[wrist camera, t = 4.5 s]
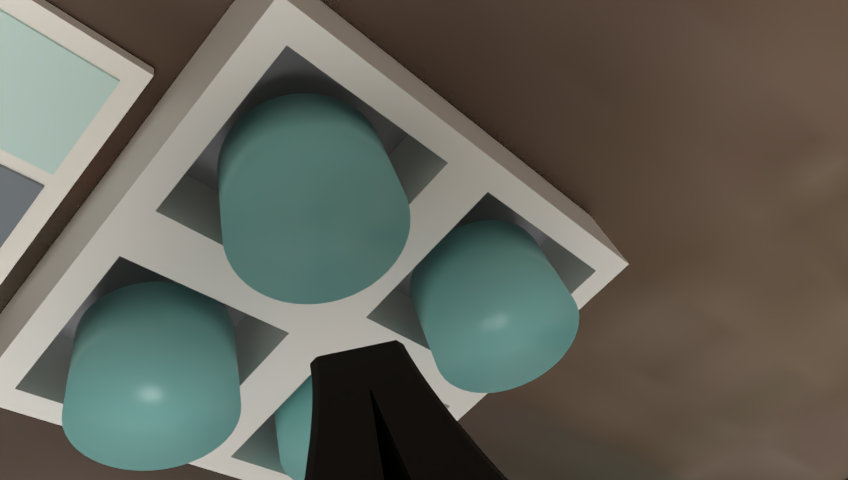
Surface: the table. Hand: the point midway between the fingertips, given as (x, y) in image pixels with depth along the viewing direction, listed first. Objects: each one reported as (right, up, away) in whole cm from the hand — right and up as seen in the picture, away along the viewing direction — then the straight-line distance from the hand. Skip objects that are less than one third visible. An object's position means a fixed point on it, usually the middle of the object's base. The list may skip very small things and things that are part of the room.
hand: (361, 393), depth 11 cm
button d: (-2, +4, +5) cm, 7 cm away
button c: (+2, +1, +9) cm, 9 cm away
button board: (-2, +2, +9) cm, 10 cm away
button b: (-6, 0, +7) cm, 9 cm away
